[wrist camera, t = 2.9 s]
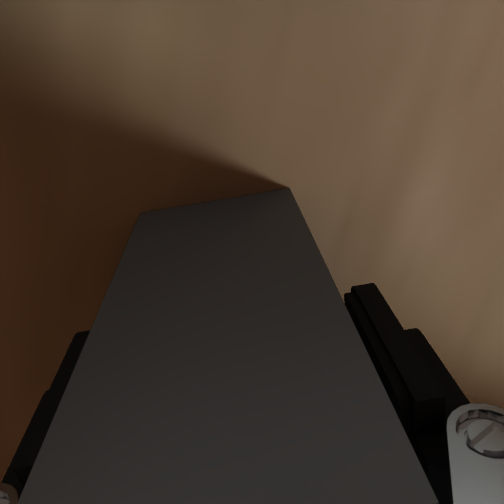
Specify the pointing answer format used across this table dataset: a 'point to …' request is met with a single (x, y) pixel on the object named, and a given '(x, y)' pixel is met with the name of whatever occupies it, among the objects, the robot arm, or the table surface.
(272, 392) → the plug
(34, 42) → the table surface
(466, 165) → the table surface
